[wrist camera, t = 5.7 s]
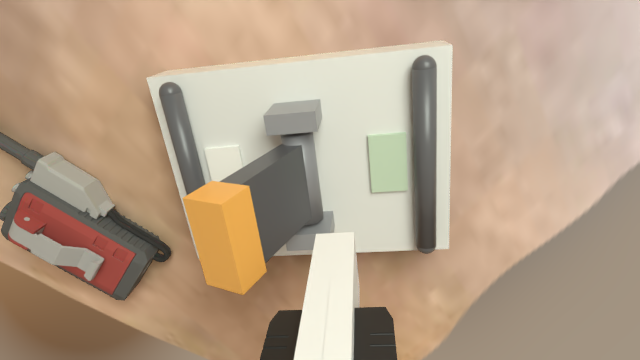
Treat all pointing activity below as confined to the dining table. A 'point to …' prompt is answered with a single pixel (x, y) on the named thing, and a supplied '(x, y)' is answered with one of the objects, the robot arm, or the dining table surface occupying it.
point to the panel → (327, 135)
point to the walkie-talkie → (76, 224)
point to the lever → (255, 212)
